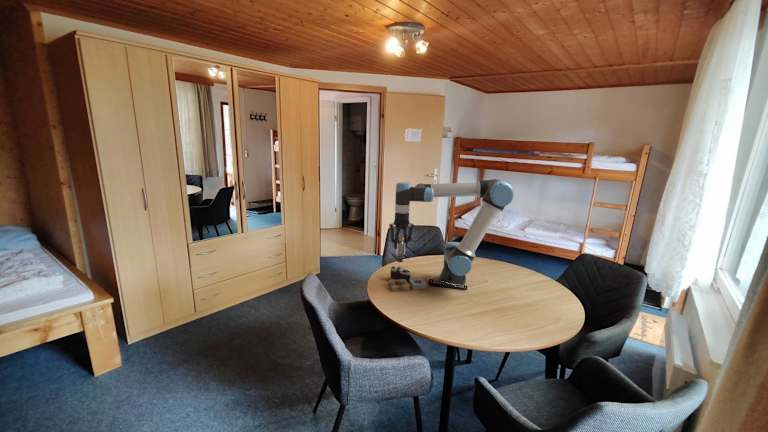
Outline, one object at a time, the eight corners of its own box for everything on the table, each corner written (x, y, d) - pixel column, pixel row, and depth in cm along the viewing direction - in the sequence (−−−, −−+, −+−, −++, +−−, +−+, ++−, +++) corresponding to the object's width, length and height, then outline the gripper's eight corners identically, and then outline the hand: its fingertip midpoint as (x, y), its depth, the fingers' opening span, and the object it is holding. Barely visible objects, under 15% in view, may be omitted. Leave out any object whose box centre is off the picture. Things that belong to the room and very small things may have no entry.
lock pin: (402, 259, 181) (403, 236, 178) (404, 262, 177) (405, 238, 174) (395, 260, 180) (396, 236, 177) (397, 262, 176) (398, 239, 173)
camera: (414, 280, 192) (414, 265, 191) (408, 284, 186) (408, 269, 184) (395, 276, 199) (395, 262, 198) (389, 280, 193) (388, 265, 191)
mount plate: (422, 282, 189) (422, 278, 188) (426, 288, 181) (427, 284, 181) (408, 283, 187) (408, 279, 187) (413, 289, 180) (413, 285, 179)
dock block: (404, 282, 188) (405, 278, 187) (410, 290, 178) (410, 286, 178) (388, 284, 185) (388, 280, 185) (392, 292, 176) (392, 287, 175)
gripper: (414, 210, 178) (412, 251, 183) (385, 210, 174) (384, 252, 179) (419, 213, 171) (416, 255, 176) (388, 213, 167) (387, 257, 172)
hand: (400, 254), depth 177 cm, fingers closed on lock pin, 3 cm apart
